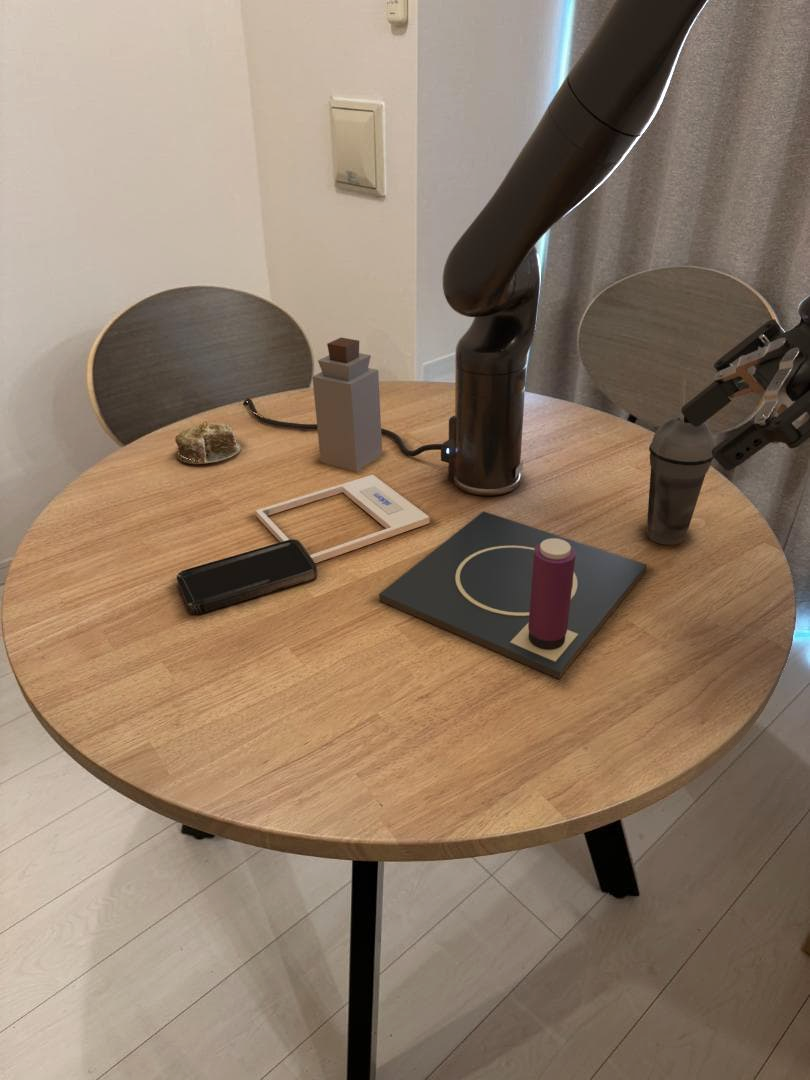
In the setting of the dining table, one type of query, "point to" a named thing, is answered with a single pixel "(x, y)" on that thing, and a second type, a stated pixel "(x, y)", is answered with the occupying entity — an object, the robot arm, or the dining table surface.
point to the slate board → (510, 590)
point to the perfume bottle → (347, 407)
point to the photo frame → (370, 498)
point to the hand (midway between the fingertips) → (702, 439)
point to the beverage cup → (676, 475)
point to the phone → (245, 576)
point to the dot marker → (551, 593)
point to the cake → (207, 443)
